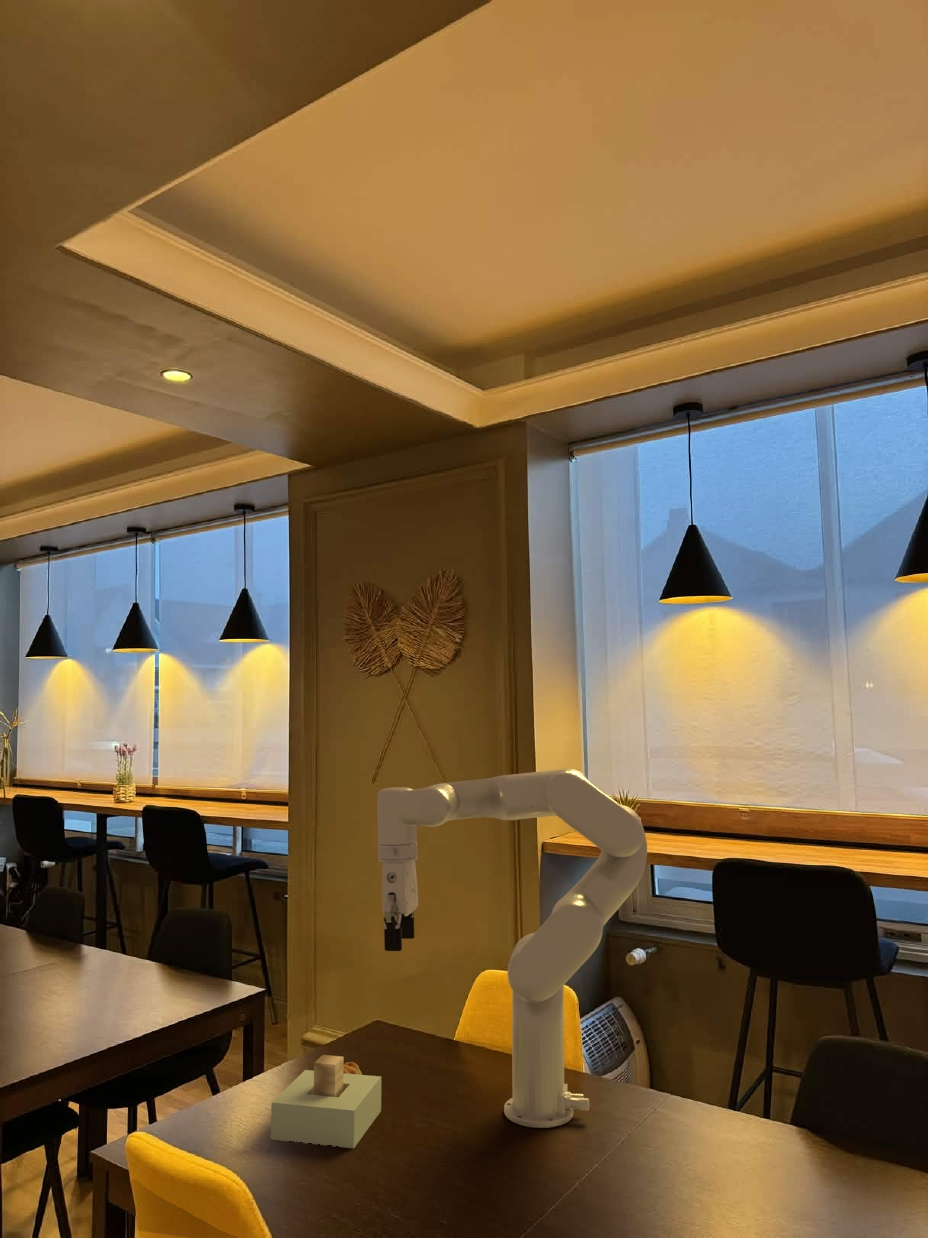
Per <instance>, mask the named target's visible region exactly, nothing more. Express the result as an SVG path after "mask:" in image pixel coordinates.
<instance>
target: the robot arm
mask: <svg viewBox="0 0 928 1238" xmlns="http://www.w3.org/2000/svg"><path fill="white" fill-rule="evenodd" d="M376 799H377V800H376V801H377V803H376V804H377V835H378V836H377V839H378V840H377V843H378V845H377V849H378V850H377V851H378V862H379V863H382V871H381V872H382V873H381V875H382V877H381V878H382V880H381V902H382V903H381V907H382V913H383V914H384V917H383V921H384V922H383V928H384V929H383V932H384V933H383V934H384V935H383V937H384V938H383V939H384V941H383V942H384V944H383V945H384V950H385V952H401V951H402V949H403V940H407V939H408V940H413V939H414V938H415V916H414V915H415V910H417V908H418V906H419V892H418V891H419V890H418V877H417V876H418V875H417V869H416V868H417V867H416V861H418V828H417V826H422V827H430V828H431V827H434V828H435V827H439V826H442V825H444V824H446V823H447V822H449V821H456V820H466V819H476V818H477V819H478V818H493V819H498V820H501V821H516V820H525V819H534V818H535V819H536V818H545V817H555V816H557V817H558V818H559V819H561V820H562V822H564V823H565V824H567V825H568V826H569V827H570V828H571V829H573V830H574V831H576V832H577V833H579V835H581V836H582V837H584V838H585V839H587V840H588V841H589V842H590V843H592V844H593V845H594V846H595V847H597V848H598V849H600V854H599V855H598V857H597V858H596V860H595V862H594V863H593V864H592V865H591V866H590V868H589V869H588V870H587V871H586V872H585V874H583V876H582V878H580V879H579V880H578V881H577V882H576V884H574V885H573V887H571V889H570V890H568V892H566V893H565V894H564V896H562V897H561V898H560V899H559V900H558V901H557V902H556V903H555V905H554V907H553V908H552V911H551V913H550V916H549V917H548V918H547V919H546V920H545V921H544V923H543V924H542V925H541V926H540V927H539V928H538V929H537V930H536V931H535V932H531V933H528V934H526V935H525V936H523V937H522V938H521V939H519V941H517V943H516V944H515V947H513V950H512V953H511V956H510V959H509V962H508V967H507V981H508V984H509V987H510V988H511V991H512V993H511V994H512V995H511V996H512V998H511V999H512V1000H511V1001H512V1002H511V1007H512V1011H511V1012H512V1013H511V1014H512V1015H511V1019H512V1021H511V1035H512V1036H511V1037H512V1038H511V1039H512V1040H511V1042H512V1043H511V1045H512V1046H511V1049H512V1050H511V1053H512V1056H511V1058H512V1060H511V1061H512V1063H511V1064H512V1065H511V1066H512V1070H511V1071H512V1078H511V1079H512V1080H511V1081H512V1082H511V1083H512V1097H511V1098H509V1099H508V1100H507V1101H506V1102H505V1103H504V1106H503V1112H504V1115H505V1117H506V1118H507V1119H508V1120H510V1121H511V1122H512V1123H515V1124H517V1125H520V1126H523V1127H527V1128H534V1129H537V1128H538V1129H548V1128H555V1127H560V1126H563V1125H565V1124H566V1123H568V1122H570V1121H571V1120H572V1118H573V1117H574V1109H575V1110H579V1111H589V1110H590V1099H589V1098H586V1097H584V1094H583V1093H571V1091H569V1090H568V1089H569V1087H568V1083H565V1044H564V1043H565V1041H564V1040H565V1039H564V1038H565V1037H564V1035H565V1031H564V1029H565V1028H564V1027H565V1010H564V1008H565V1007H564V1006H565V1004H564V1003H565V1002H564V999H565V998H564V997H565V996H564V995H565V993H564V992H565V991H564V990H565V987H564V986H565V984H566V983H567V982H568V981H569V980H570V979H571V978H572V977H573V976H574V974H575V973H576V972H577V971H578V970H579V969H580V968H581V967H582V966H583V965H584V963H586V961H587V960H588V959H589V958H590V957H591V956H592V955H593V953H594V952H595V951H596V950H597V948H598V946H599V945H600V943H601V940H602V937H603V932H604V926H605V925H606V924H607V923H608V921H609V920H610V919H611V918H612V916H614V914H615V913H616V912H617V911H618V910H619V908H620V907H621V906H622V905H623V904H624V902H625V901H626V900H627V899H628V898H629V897H630V895H631V894H632V893H633V891H634V890H635V889H636V888H637V886H638V885H639V883H640V881H641V879H642V877H643V874H644V871H645V868H646V864H647V858H648V857H647V856H648V843H647V841H648V840H647V836H646V832H645V829H644V825H643V823H642V819H641V817H640V816H639V814H638V813H637V812H636V811H635V810H634V809H632V808H631V807H629V806H627V805H623V804H620V803H618V802H617V801H615V800H614V799H612V798H611V797H610V796H609V795H607V794H606V793H604V792H603V791H602V790H600V789H599V788H598V787H596V786H595V785H594V784H592V783H591V782H590V781H589V779H588V778H587V776H586V775H585V774H584V773H583V772H581V771H580V770H577V769H574V768H560V769H552V770H551V769H550V770H542V771H541V770H540V771H532V772H525V773H516V774H515V773H514V774H502V775H498V776H494V777H493V776H492V777H489V778H488V777H487V778H482V779H481V778H480V779H472V780H471V779H470V780H463V781H454V782H443V783H437V784H433V785H430V786H427V787H423V788H416V789H413V788H411V787H406V786H399V787H398V786H397V787H386V788H382V789H380V790H379V791H378V792H377V798H376ZM402 939H403V940H402Z"/></svg>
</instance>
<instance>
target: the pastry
mask: <svg viewBox="0 0 928 1238" xmlns="http://www.w3.org/2000/svg"><path fill="white" fill-rule="evenodd" d="M343 1073H346V1074H358V1075H363V1074H362V1071H361V1070H360V1067H359V1065H358V1064H357V1063H355V1061H354V1062H353V1061H349V1062H347V1061H346V1062H345V1063H344V1067H343Z"/></svg>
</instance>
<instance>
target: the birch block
mask: <svg viewBox="0 0 928 1238" xmlns="http://www.w3.org/2000/svg"><path fill="white" fill-rule="evenodd" d="M344 1059H345V1058H344V1056H339V1055H327V1054H322V1055H321V1056H320V1057H319V1058H318V1059H317V1060H316V1061H314V1062H313V1071H314V1095H318V1096H329V1097H339V1096H340V1095H341V1094H342V1093H343V1067H344V1064H345V1063H344V1061H345V1060H344Z"/></svg>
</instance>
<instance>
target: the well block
mask: <svg viewBox="0 0 928 1238" xmlns="http://www.w3.org/2000/svg"><path fill="white" fill-rule="evenodd" d="M381 1111H382V1076H381V1075H379V1076H377V1075H368V1074H367V1075H366V1074H365V1075H364V1074H362V1075H358V1074H346V1073H343V1093H342V1094H341V1095H340V1096H339V1097H329V1096H318V1095H314V1070H309V1069H304V1070H303V1072H301V1073H300V1074H299V1075H298V1076H297V1077H296V1078H295V1079H294V1080H293V1081H292V1082H291V1083H290V1084H289V1085H288V1086H287V1087H286V1088H285V1089H283V1090H282V1092H281V1093H280V1094H279V1095H277V1096H276V1097H275V1098H274V1100H272V1101H271V1111H270V1112H271V1115H270V1117H271V1118H270V1140H271V1139H272V1140H273V1141H281V1142H289V1141H292V1143H299V1142H303V1143H302V1144H308V1143H312V1144H311V1145H318V1144H320V1146H327V1145H332V1146H331V1147H336V1146H338V1147H339V1148H347V1149H355V1147H356V1146H357V1145H358V1143H359V1142H360V1141H361V1139H363V1136H364V1135H365V1134H366V1132H367V1131H368V1130H369V1128H370V1126H372V1124H373V1123H374V1121H375V1120H376V1118H377V1117H378V1116H379V1114H380V1113H381ZM272 1140H271V1141H272ZM293 1141H294V1142H293ZM296 1141H297V1142H296ZM338 1147H337V1148H338Z"/></svg>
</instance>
